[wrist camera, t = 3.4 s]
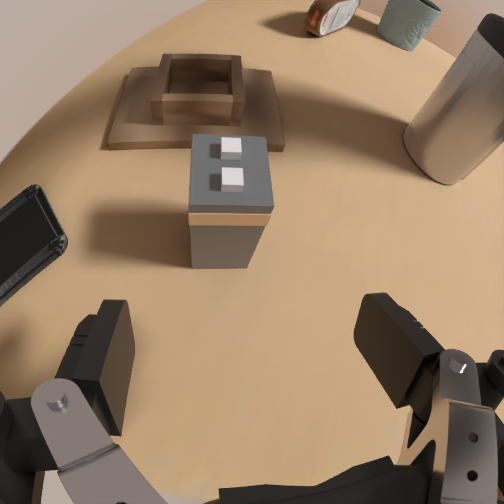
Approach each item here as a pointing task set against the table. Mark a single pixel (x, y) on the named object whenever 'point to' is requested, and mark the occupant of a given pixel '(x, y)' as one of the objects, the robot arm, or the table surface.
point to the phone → (27, 239)
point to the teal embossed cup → (407, 22)
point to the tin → (329, 16)
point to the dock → (195, 103)
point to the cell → (228, 199)
